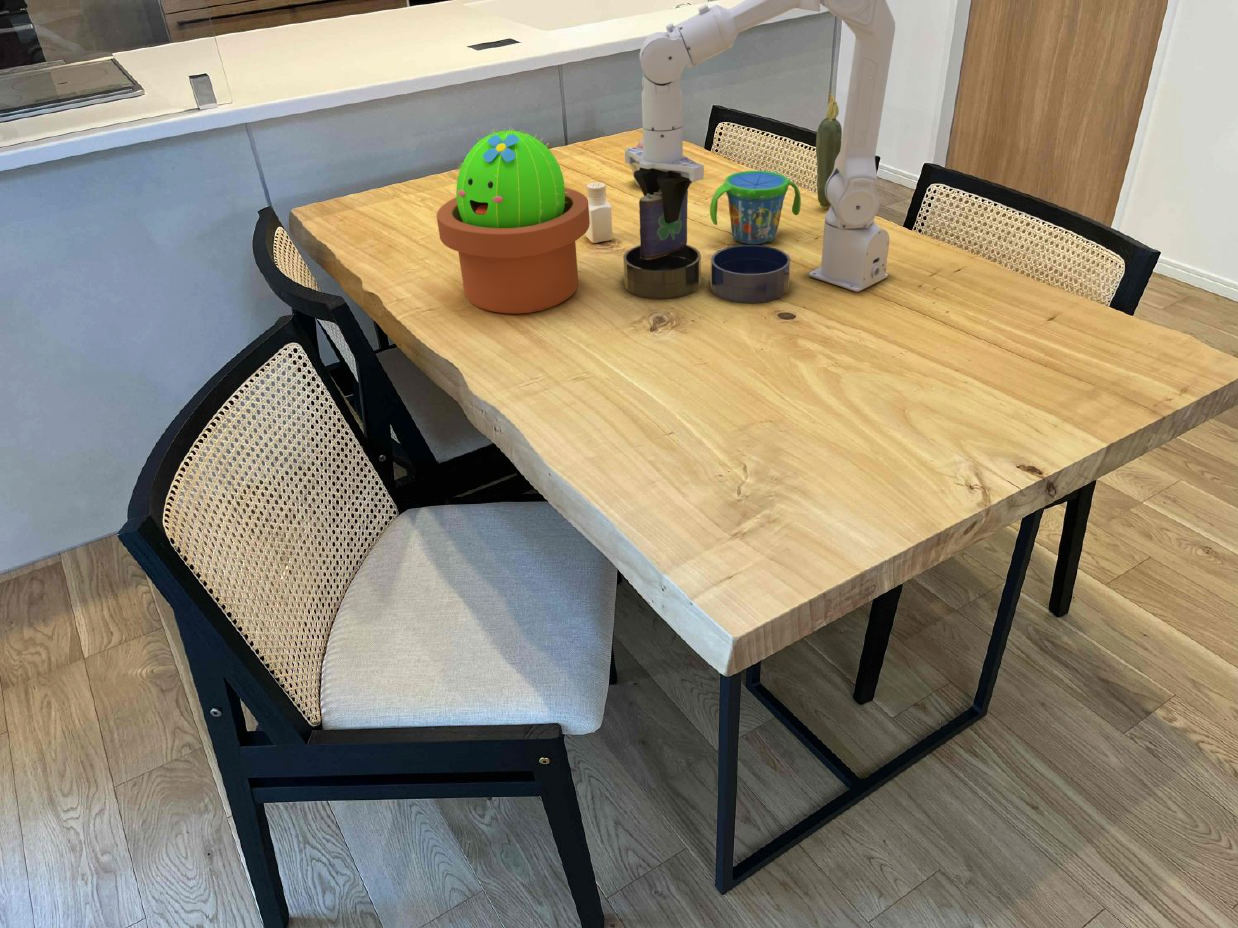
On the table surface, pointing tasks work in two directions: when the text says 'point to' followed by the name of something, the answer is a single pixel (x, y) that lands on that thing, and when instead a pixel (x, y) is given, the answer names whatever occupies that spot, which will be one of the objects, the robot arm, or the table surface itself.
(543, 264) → the potted cactus
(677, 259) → the charcoal bowl
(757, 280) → the indigo bowl
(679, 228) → the flask
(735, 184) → the snack cup
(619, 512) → the table surface
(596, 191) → the pepper shaker
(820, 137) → the vegetable
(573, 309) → the table surface
